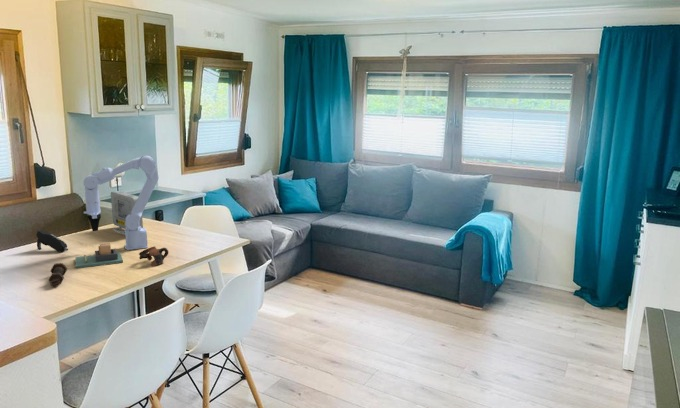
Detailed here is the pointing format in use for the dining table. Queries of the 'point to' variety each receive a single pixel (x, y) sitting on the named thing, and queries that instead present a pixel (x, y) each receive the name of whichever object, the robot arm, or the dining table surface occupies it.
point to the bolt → (57, 274)
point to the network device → (122, 209)
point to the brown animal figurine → (154, 255)
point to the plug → (104, 249)
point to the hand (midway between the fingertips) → (95, 230)
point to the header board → (99, 259)
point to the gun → (50, 241)
